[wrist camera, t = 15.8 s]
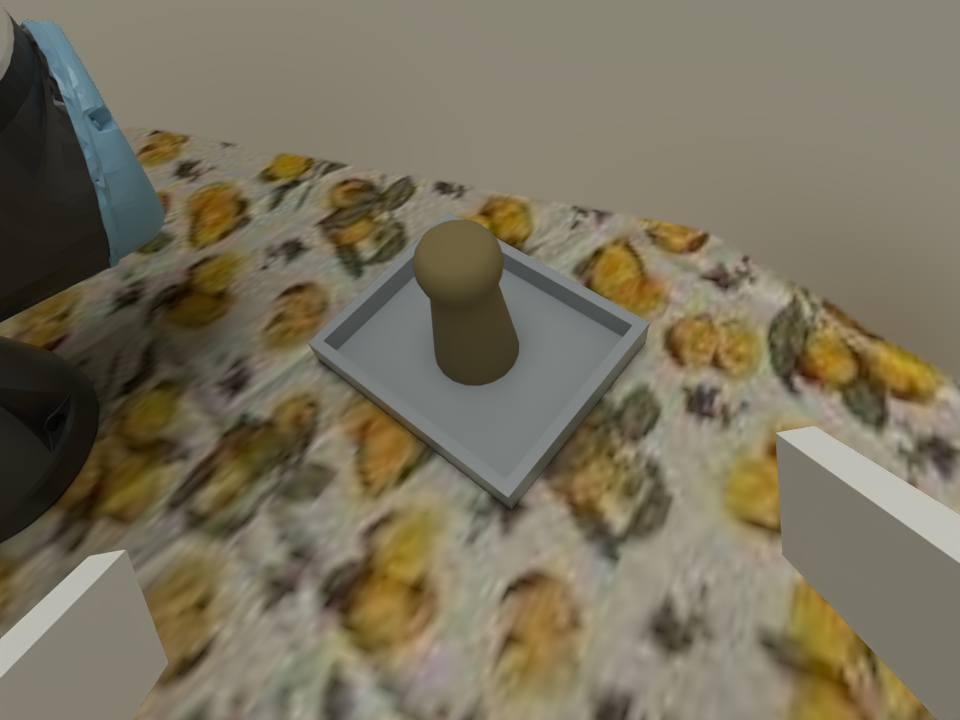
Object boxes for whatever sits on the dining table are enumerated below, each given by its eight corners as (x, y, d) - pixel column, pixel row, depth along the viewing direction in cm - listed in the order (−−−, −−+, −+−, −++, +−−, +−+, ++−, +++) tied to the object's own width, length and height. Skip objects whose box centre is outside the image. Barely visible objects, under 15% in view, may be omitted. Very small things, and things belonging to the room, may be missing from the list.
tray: (319, 360, 44) (307, 342, 42) (453, 233, 49) (448, 211, 46) (510, 510, 36) (508, 497, 34) (644, 343, 41) (649, 322, 39)
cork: (464, 301, 44) (439, 190, 35) (535, 333, 42) (529, 224, 33) (418, 363, 42) (378, 261, 33) (490, 400, 40) (470, 302, 30)
